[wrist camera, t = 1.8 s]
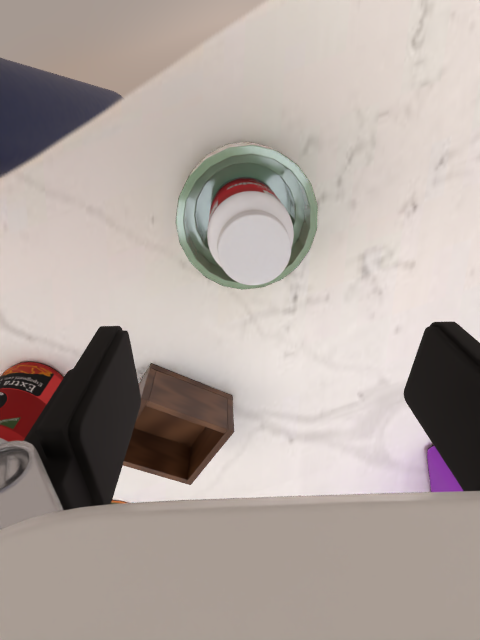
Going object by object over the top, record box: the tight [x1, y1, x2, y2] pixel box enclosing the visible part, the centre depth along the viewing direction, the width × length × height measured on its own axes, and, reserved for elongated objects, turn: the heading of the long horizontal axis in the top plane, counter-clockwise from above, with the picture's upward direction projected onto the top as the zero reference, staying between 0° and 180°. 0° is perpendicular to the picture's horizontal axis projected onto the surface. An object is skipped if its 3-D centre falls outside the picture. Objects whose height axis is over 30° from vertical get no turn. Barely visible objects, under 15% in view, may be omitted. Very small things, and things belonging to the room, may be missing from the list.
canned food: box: [0, 362, 63, 444], centre depth 35 cm, size 8×8×11 cm
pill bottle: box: [207, 177, 294, 285], centre depth 26 cm, size 6×6×11 cm
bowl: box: [176, 142, 318, 289], centre depth 28 cm, size 11×11×5 cm
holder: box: [123, 363, 234, 485], centre depth 40 cm, size 11×11×6 cm
